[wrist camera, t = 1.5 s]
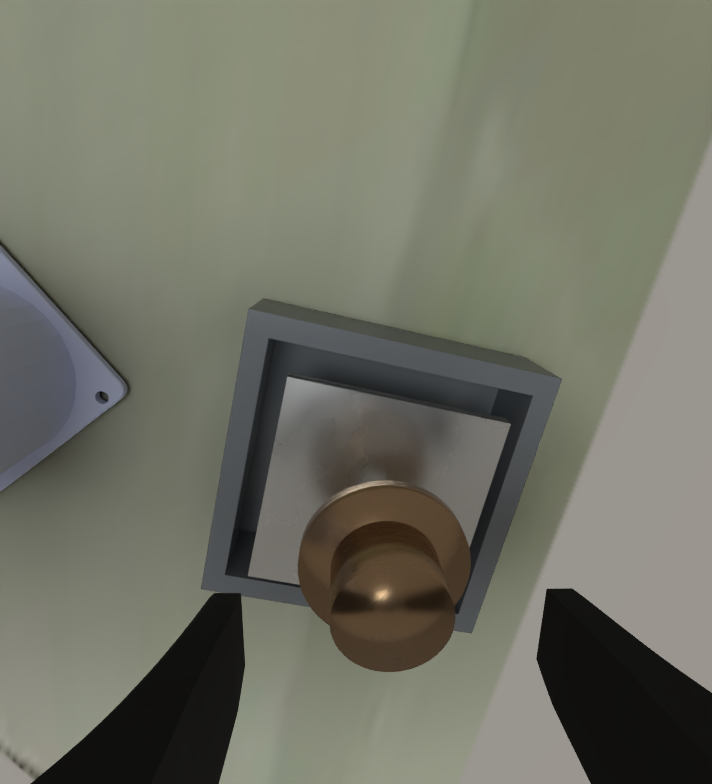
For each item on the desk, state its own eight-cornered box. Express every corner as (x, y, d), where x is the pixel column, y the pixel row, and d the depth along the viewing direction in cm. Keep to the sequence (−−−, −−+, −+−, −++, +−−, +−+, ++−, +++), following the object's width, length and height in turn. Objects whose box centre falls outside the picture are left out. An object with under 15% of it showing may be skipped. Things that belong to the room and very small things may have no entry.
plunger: (445, 598, 19) (495, 760, 13) (250, 565, 18) (209, 720, 12) (504, 417, 17) (597, 510, 11) (289, 372, 16) (262, 445, 10)
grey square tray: (452, 578, 24) (471, 633, 20) (220, 537, 22) (200, 589, 19) (525, 357, 21) (561, 378, 17) (263, 298, 20) (248, 309, 16)
